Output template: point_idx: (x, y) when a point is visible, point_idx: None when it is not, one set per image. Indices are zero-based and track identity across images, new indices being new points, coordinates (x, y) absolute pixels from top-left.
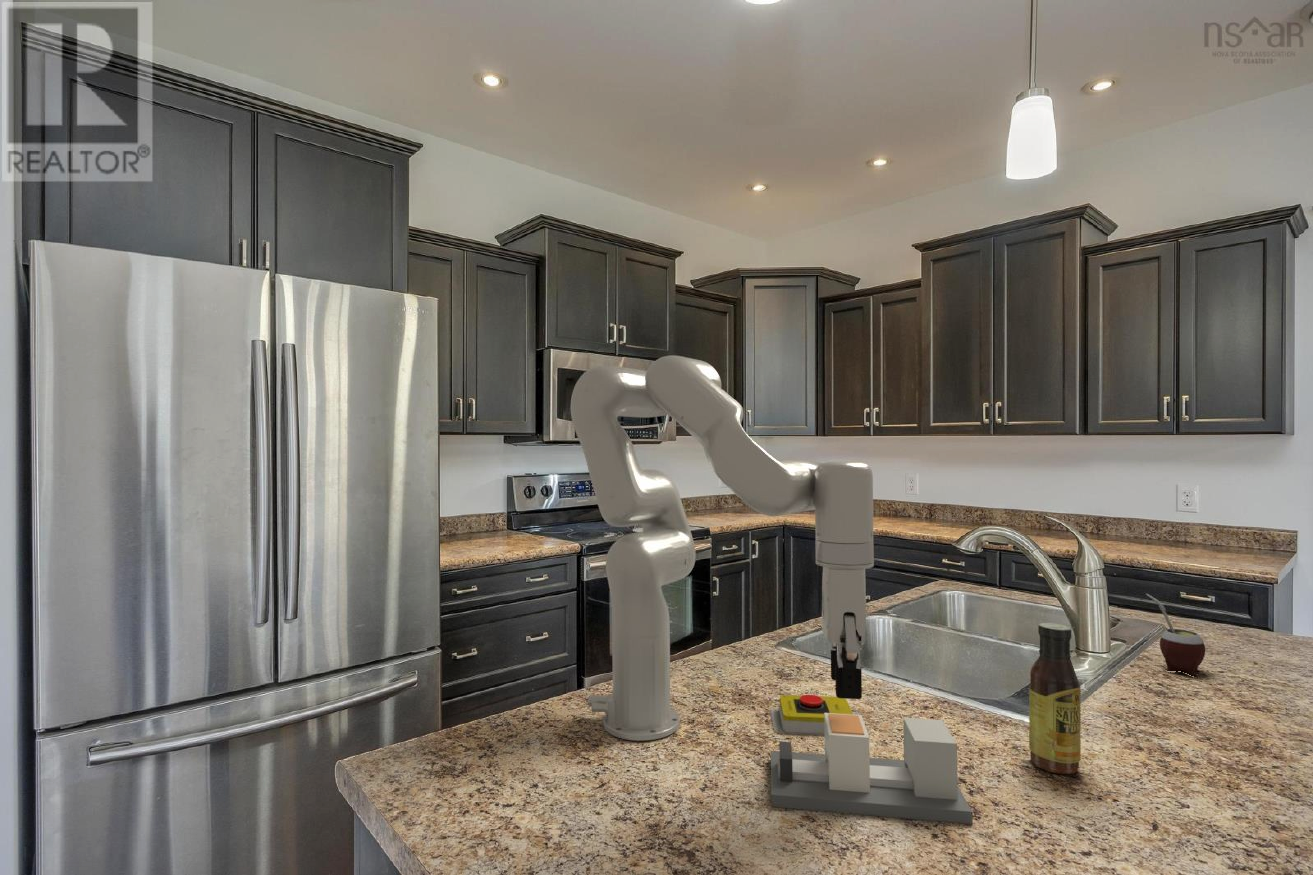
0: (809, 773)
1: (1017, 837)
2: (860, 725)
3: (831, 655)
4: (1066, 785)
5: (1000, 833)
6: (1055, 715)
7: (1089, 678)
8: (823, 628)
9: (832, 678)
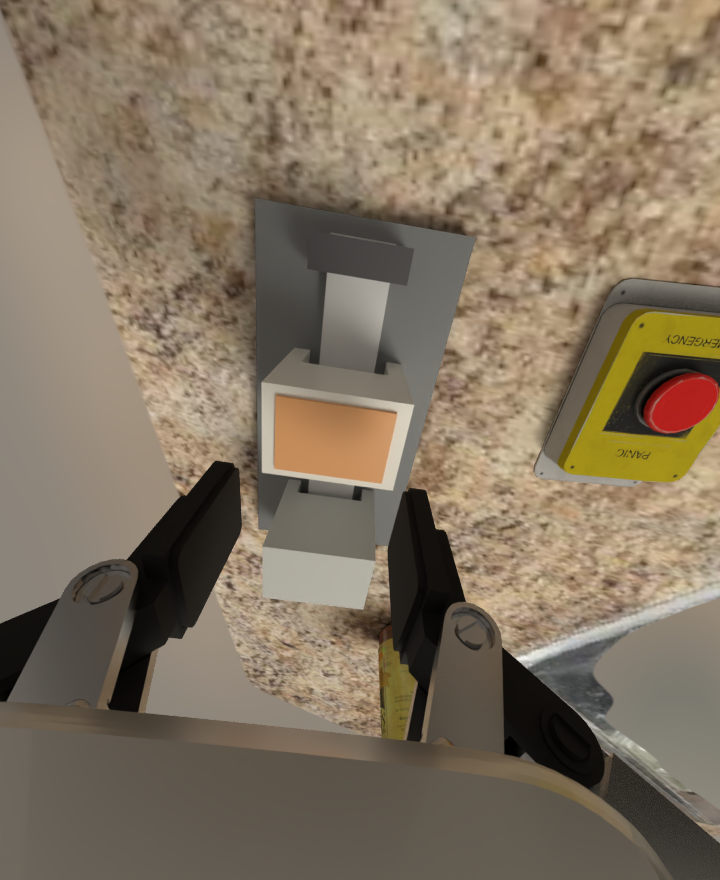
0: (324, 314)
1: (245, 546)
2: (321, 472)
3: (424, 569)
4: (361, 625)
5: (250, 535)
6: (385, 713)
7: (610, 738)
8: (221, 853)
9: (411, 491)
